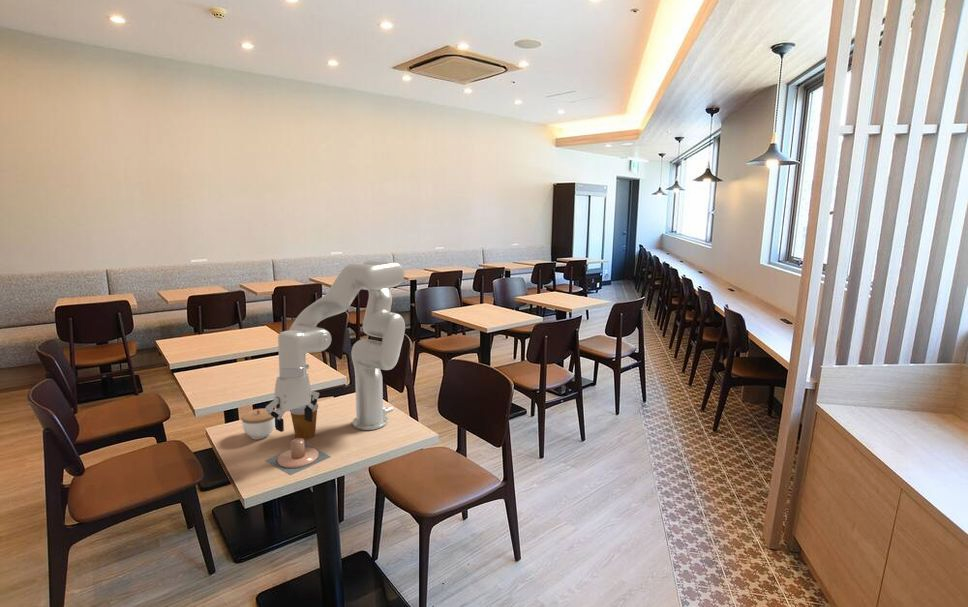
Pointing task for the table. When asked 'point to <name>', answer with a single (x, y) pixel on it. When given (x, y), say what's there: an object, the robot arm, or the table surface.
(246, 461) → the table surface
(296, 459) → the lid
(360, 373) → the robot arm
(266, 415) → the lidded jar
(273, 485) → the table surface
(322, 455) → the mat
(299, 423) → the disposable coffee cup
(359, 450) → the table surface
